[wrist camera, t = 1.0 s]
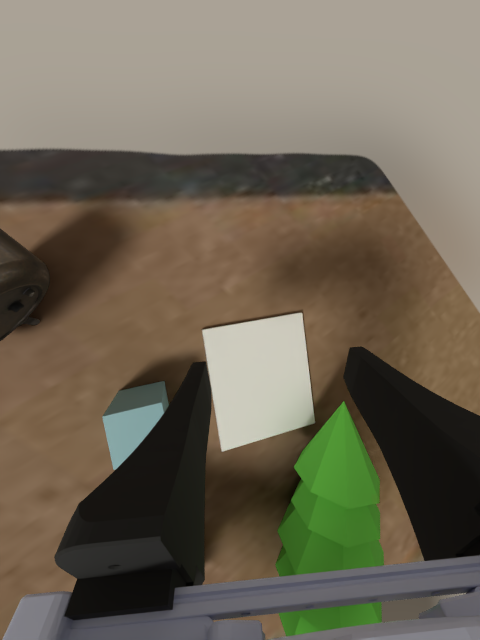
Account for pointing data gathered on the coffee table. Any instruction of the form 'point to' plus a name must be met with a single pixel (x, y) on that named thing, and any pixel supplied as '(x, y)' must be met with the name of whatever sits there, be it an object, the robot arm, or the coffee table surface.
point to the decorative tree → (332, 521)
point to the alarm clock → (19, 284)
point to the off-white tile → (259, 378)
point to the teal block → (133, 418)
